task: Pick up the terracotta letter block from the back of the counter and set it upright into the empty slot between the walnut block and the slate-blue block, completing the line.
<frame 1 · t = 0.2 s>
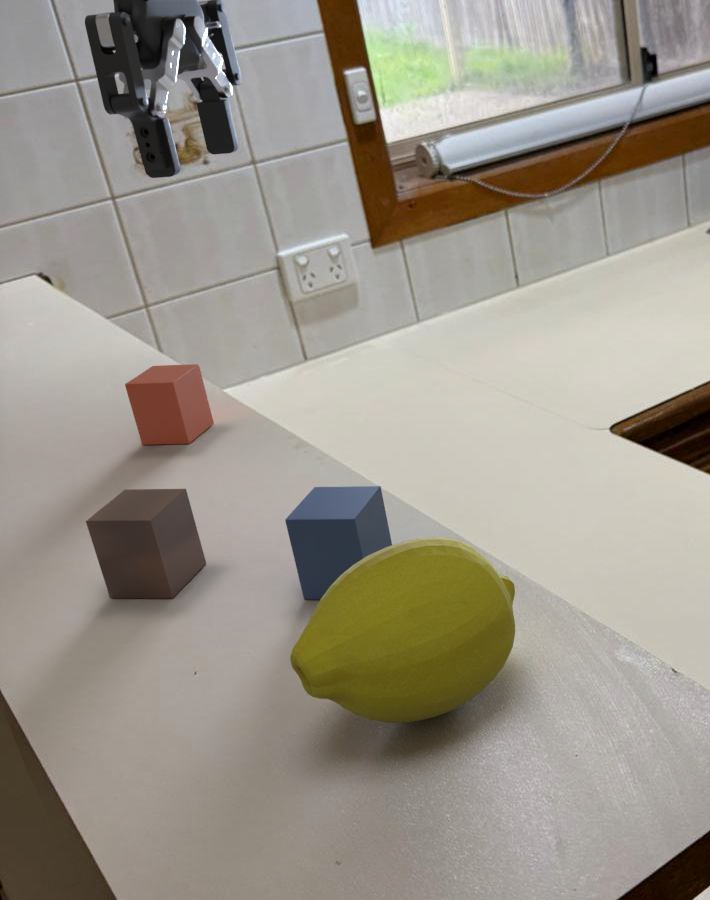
hand: (195, 164, 80), 20 cm above the worktop, tool pointing down, fingers open, 8 cm apart
slate block: (350, 581, 64), on the worktop
lemon: (425, 707, 53), on the worktop
terracotta block: (178, 434, 89), on the worktop
walnut block: (159, 580, 67), on the worktop
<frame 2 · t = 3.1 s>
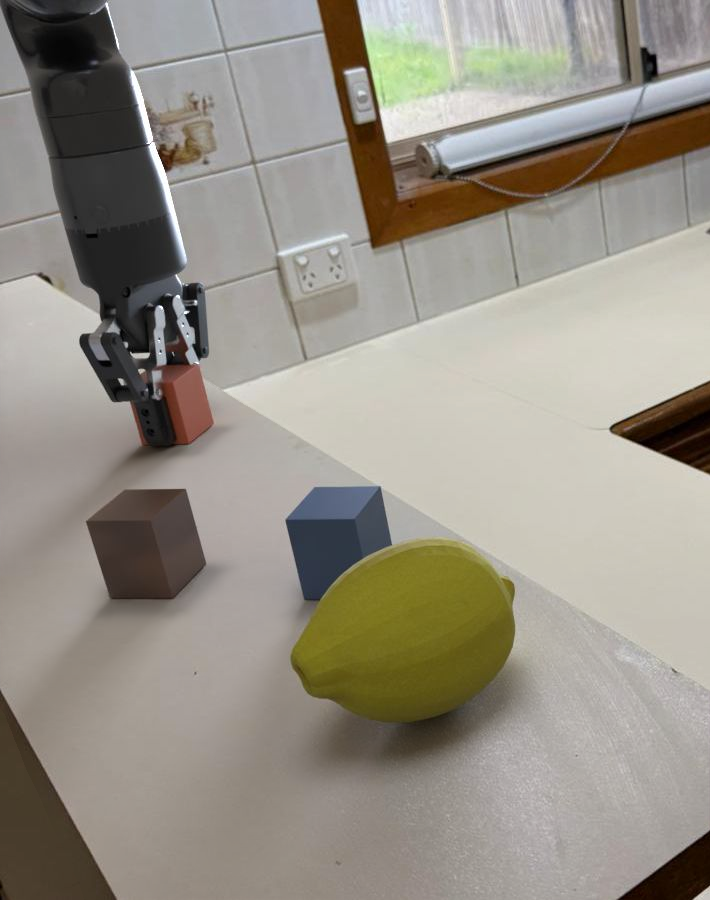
hand: (177, 431, 88), 0 cm above the worktop, tool pointing down, fingers closed on terracotta block, 4 cm apart
terracotta block: (178, 434, 89), on the worktop, touching gripper
everything else where it was.
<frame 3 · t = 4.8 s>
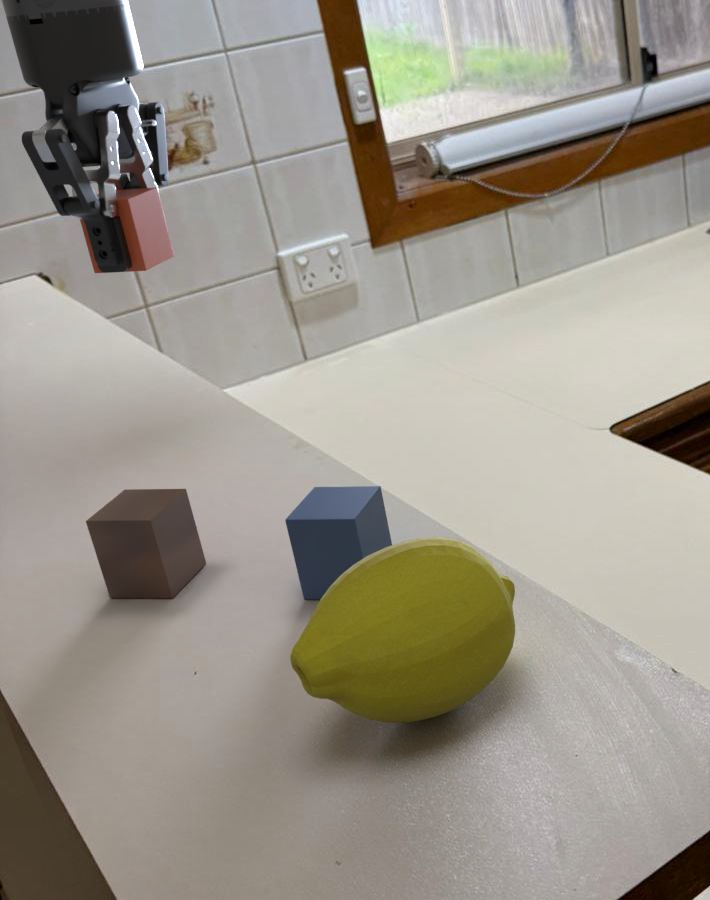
hand: (133, 261, 81), 14 cm above the worktop, tool pointing down, fingers closed on terracotta block, 4 cm apart
terracotta block: (135, 264, 81), point 14 cm above the worktop, touching gripper
everything else where it was.
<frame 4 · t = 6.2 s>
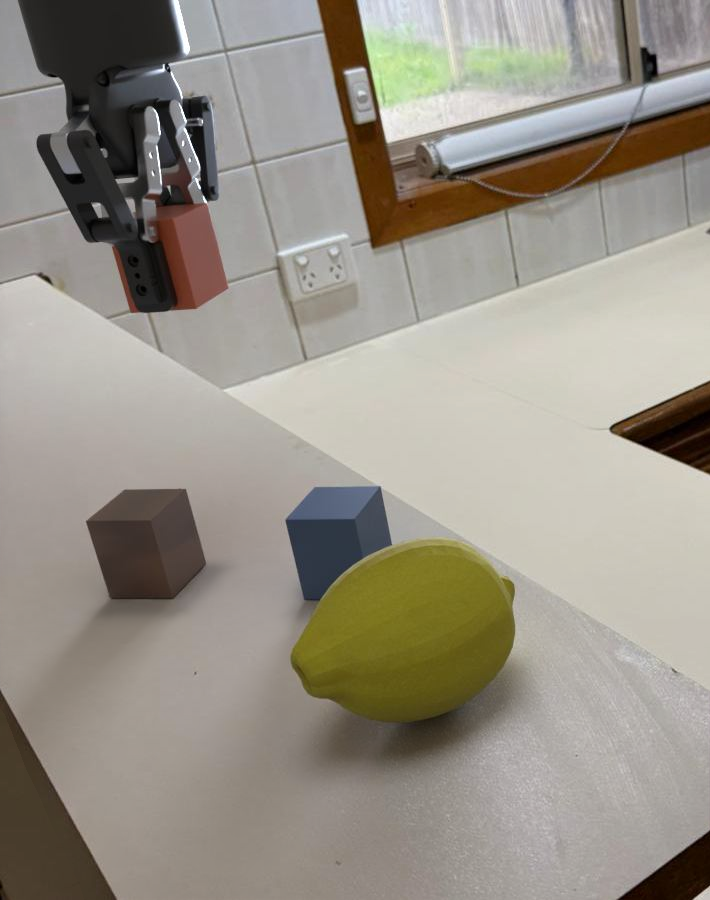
hand: (178, 296, 64), 16 cm above the worktop, tool pointing down, fingers closed on terracotta block, 4 cm apart
terracotta block: (180, 300, 64), point 15 cm above the worktop, touching gripper
everything else where it was.
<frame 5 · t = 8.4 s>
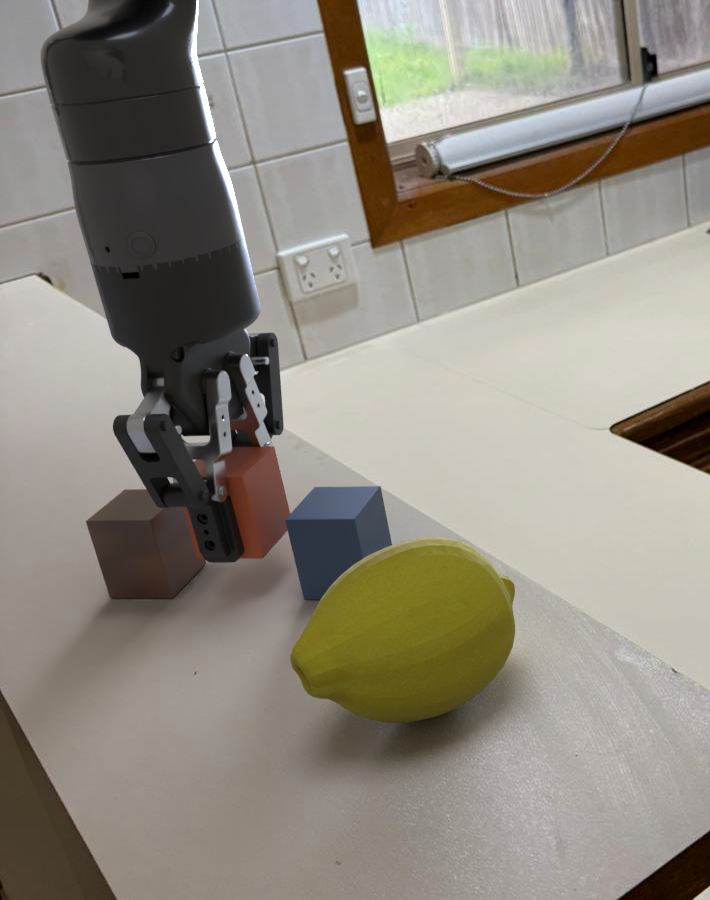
hand: (243, 537, 64), 3 cm above the worktop, tool pointing down, fingers closed on terracotta block, 4 cm apart
terracotta block: (246, 541, 64), point 3 cm above the worktop, touching gripper
everything else where it was.
when the fingers open (0 cm above the worktop, at t = 9.6 s): terracotta block stays where it is, on the worktop.
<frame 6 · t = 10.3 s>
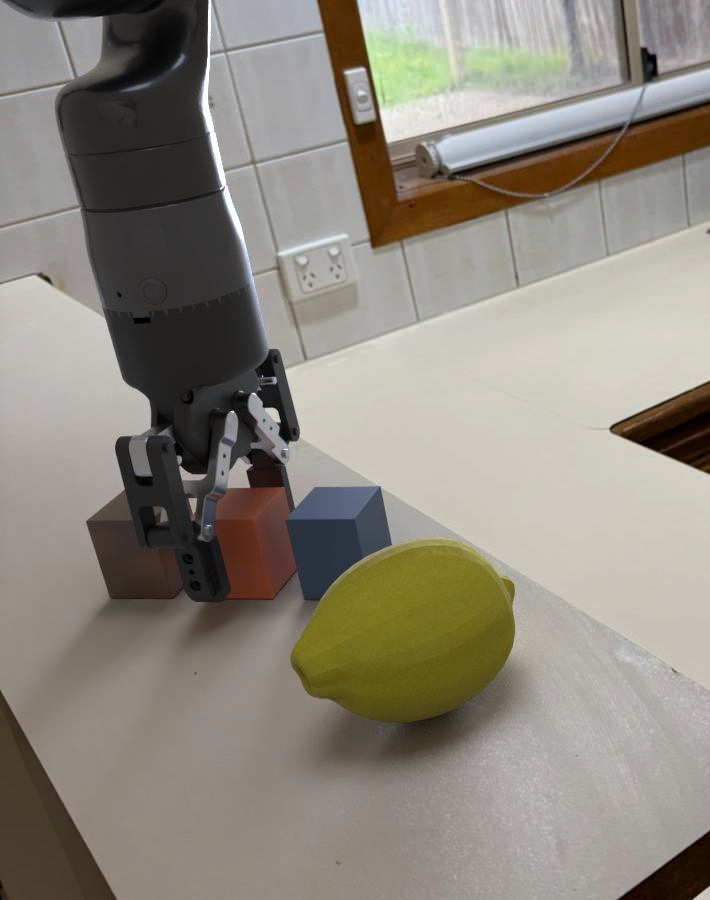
hand: (246, 559, 65), 1 cm above the worktop, tool pointing down, fingers open, 8 cm apart
terracotta block: (256, 580, 66), on the worktop
everything else where it was.
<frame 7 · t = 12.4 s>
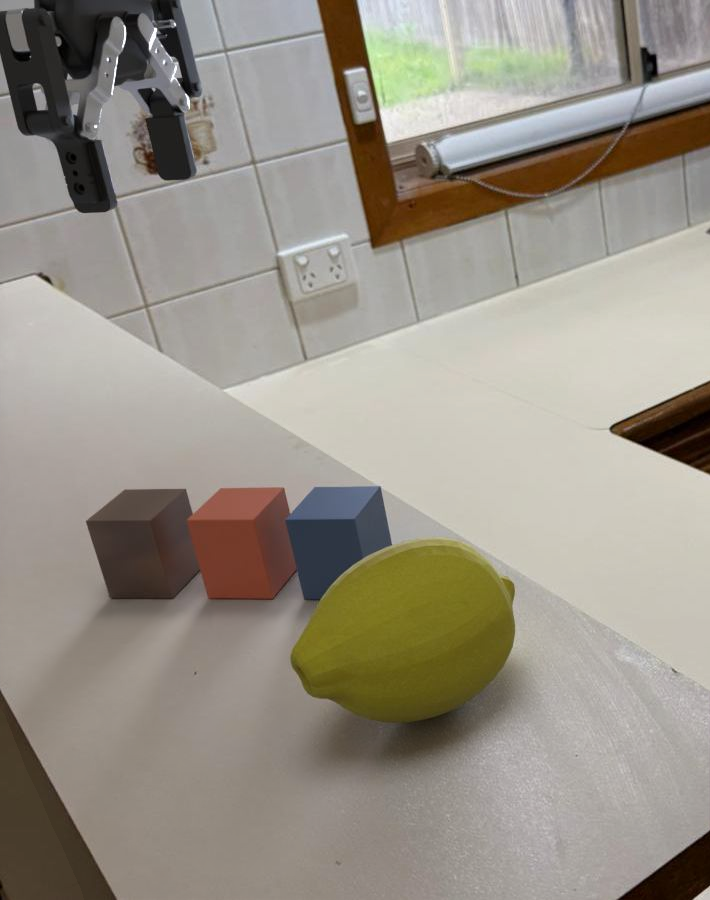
hand: (140, 194, 66), 21 cm above the worktop, tool pointing down, fingers open, 8 cm apart
nothing on the worktop moved.
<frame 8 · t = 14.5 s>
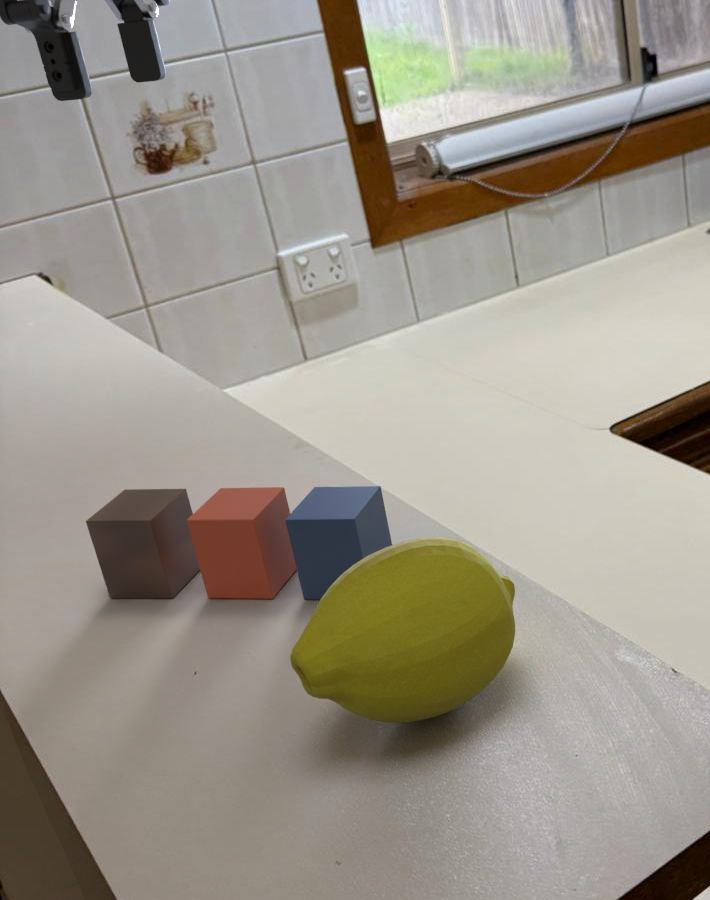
hand: (114, 89, 72), 26 cm above the worktop, tool pointing down, fingers open, 8 cm apart
nothing on the worktop moved.
at the end: terracotta block 0.2 cm from the target spot on the worktop beside the slate block, on the worktop; terracotta block 6.2 cm from the walnut block (horizontally); terracotta block tilted 0° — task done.
